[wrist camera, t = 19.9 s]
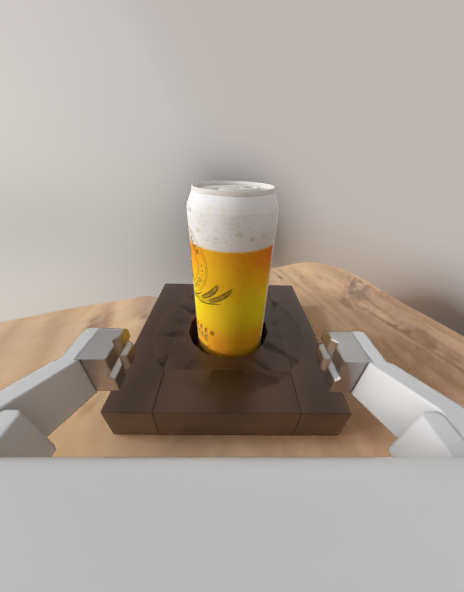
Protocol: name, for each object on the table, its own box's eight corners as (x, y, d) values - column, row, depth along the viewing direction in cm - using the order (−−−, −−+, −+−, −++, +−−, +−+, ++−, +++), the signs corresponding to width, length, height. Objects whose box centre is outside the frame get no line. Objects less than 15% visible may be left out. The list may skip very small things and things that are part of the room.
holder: (113, 434, 15) (99, 412, 13) (168, 302, 28) (165, 283, 27) (338, 435, 15) (352, 413, 14) (287, 304, 28) (291, 285, 27)
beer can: (199, 330, 24) (186, 179, 16) (251, 326, 25) (266, 180, 16) (200, 377, 19) (182, 191, 11) (266, 370, 20) (297, 192, 11)
